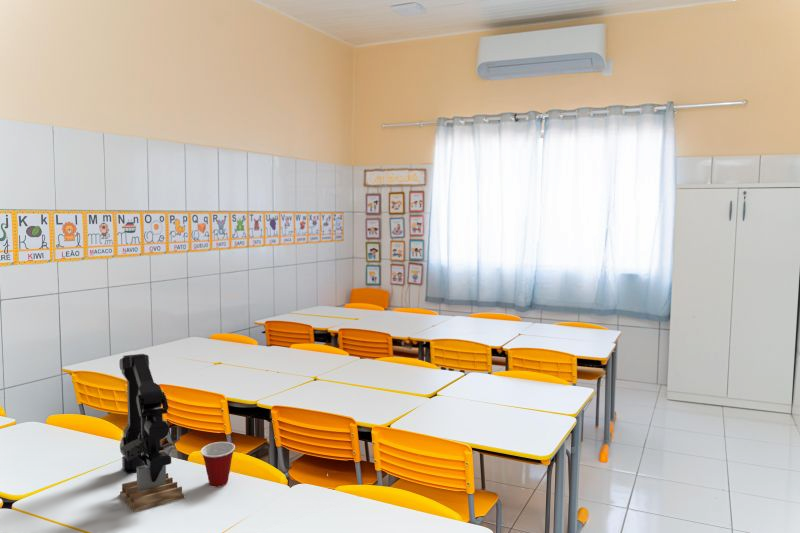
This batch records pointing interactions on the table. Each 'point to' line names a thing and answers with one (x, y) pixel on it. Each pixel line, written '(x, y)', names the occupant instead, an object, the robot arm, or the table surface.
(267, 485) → the table surface
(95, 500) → the table surface
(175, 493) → the rack
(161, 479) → the slate
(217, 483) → the plastic cup
